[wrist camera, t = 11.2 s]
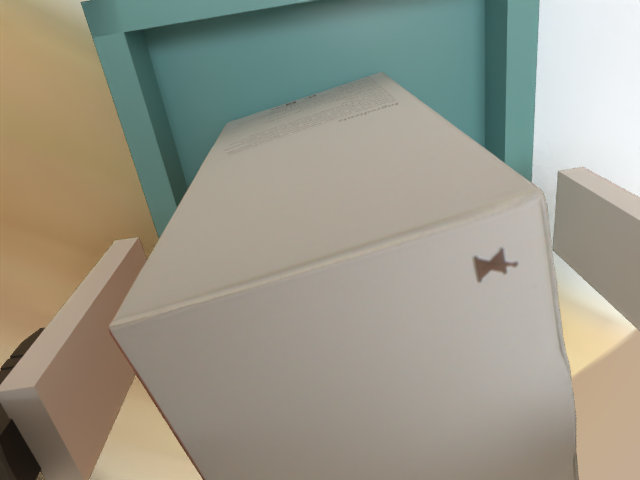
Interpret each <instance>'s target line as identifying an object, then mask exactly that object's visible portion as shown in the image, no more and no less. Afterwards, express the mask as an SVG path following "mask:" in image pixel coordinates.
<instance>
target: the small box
mask: <svg viewBox="0 0 640 480" xmlns="http://www.w3.org/2000/svg"><path fill="white" fill-rule="evenodd" d="M108 330H109V333H110V335H111V336H112V338H113V340H114V341H115V343H116V344H117V346H118V347H119V349H120V350H121V352H122V354H123V355H124V357H125V358H126V360H127V361H128V363H129V364H130V366H131V367H132V369H133V371H134V372H135V374H136V375H137V377H138V378H139V380H140V381H141V383H142V385H143V386H144V388H145V389H146V391H147V393H148V394H149V396H150V397H151V399H152V400H153V402H154V404H155V405H156V407H157V408H158V410H159V411H160V413H161V415H162V416H163V418H164V419H165V421H166V422H167V424H168V425H169V427H170V429H171V430H172V432H173V434H174V435H175V437H176V438H177V440H178V442H179V443H180V445H181V446H182V448H183V449H184V451H185V452H186V454H187V455H188V457H189V459H190V460H191V462H192V463H193V465H194V466H195V468H196V469H197V471H198V472H199V474H200V475H201V477H202V479H203V480H579V477H578V465H577V454H576V411H575V401H574V393H573V388H572V380H571V371H570V365H569V360H568V357H567V354H566V349H565V344H564V339H563V332H562V323H561V315H560V309H559V301H558V291H557V282H556V276H555V270H554V263H553V255H552V245H551V236H550V228H549V220H548V209H547V204H546V200H545V196H544V193H543V192H542V191H541V189H539V188H538V187H537V186H535V185H534V184H532V183H531V182H530V181H528V180H527V179H526V178H524V177H523V176H522V175H520V174H519V173H517V172H516V171H514V170H513V169H512V168H511V167H509V166H508V165H507V164H505V163H504V162H503V161H501V160H500V159H499V158H497V157H496V156H495V155H493V154H492V153H491V152H489V151H488V150H487V149H485V148H484V147H482V146H481V145H480V144H478V143H477V142H476V141H474V140H473V139H472V138H470V137H469V136H468V135H466V134H465V133H464V132H462V131H461V130H459V129H458V128H457V127H455V126H454V125H453V124H451V123H450V122H449V121H447V120H446V119H445V118H443V117H442V116H441V115H439V114H438V113H437V112H435V111H434V110H433V109H431V108H430V107H429V106H427V105H426V104H425V103H423V102H422V101H420V100H419V99H418V98H416V97H415V96H414V95H412V94H411V93H410V92H408V91H407V90H405V89H404V88H403V87H402V86H400V85H399V84H398V83H396V82H395V81H394V80H392V79H391V78H390V77H388V76H387V75H386V74H385V73H384V72H379V73H376V74H373V75H370V76H367V77H364V78H361V79H358V80H355V81H352V82H349V83H346V84H343V85H340V86H337V87H334V88H331V89H328V90H325V91H322V92H319V93H316V94H313V95H310V96H307V97H304V98H301V99H298V100H295V101H292V102H289V103H285V104H282V105H279V106H276V107H273V108H270V109H267V110H264V111H260V112H257V113H255V114H252V115H249V116H246V117H243V118H239V119H236V120H233V121H230V122H228V123H227V124H226V125H225V127H224V128H223V130H222V132H221V133H220V135H219V137H218V139H217V140H216V142H215V144H214V146H213V147H212V148H211V150H210V152H209V153H208V155H207V157H206V158H205V160H204V162H203V164H202V165H201V167H200V169H199V171H198V173H197V174H196V176H195V178H194V180H193V182H192V183H191V185H190V186H189V188H188V190H187V192H186V193H185V195H184V197H183V199H182V200H181V202H180V204H179V206H178V207H177V209H176V211H175V213H174V214H173V216H172V218H171V220H170V221H169V223H168V225H167V226H166V228H165V230H164V231H163V233H162V235H161V236H160V238H159V240H158V242H157V243H156V245H155V247H154V249H153V250H152V252H151V254H150V256H149V258H148V259H147V261H146V263H145V264H144V266H143V268H142V269H141V271H140V273H139V274H138V276H137V278H136V280H135V282H134V283H133V285H132V287H131V289H130V290H129V292H128V294H127V295H126V297H125V299H124V300H123V302H122V304H121V306H120V307H119V309H118V311H117V313H116V314H115V316H114V318H113V319H112V321H111V323H110V324H109V327H108Z"/></svg>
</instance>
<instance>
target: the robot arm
mask: <svg viewBox="0 0 640 480" xmlns="http://www.w3.org/2000/svg"><path fill="white" fill-rule="evenodd" d="M553 251H554V252H555V253H556V254H557V255H558V256H560V257H561V258H562V259H563V260H564V261H565V262H566V263H567V264H568V265H569V266H570V267H571V268H572V269H574V270H575V271H576V272H577V273H578V274H579V275H580V276H581V277H582V278H583V279H584V280H585V281H586V282H588V283H589V284H590V285H591V286H592V287H593V288H594V289H595V290H596V291H597V292H598V293H599V294H600V295H602V296H603V297H604V298H605V299H606V300H607V301H608V302H609V303H610V304H611V305H612V306H613V307H614V308H615V309H617V310H618V311H619V312H620V313H621V314H622V315H623V316H624V317H625V318H626V319H627V320H628V321H629V322H631V323H632V324H633V325H634V326H635V327H636V328H637V329H638V330H639V331H640V197H638V196H636V195H634V194H632V193H631V192H629V191H627V190H625V189H623V188H621V187H620V186H618V185H616V184H614V183H612V182H610V181H608V180H607V179H605V178H603V177H601V176H599V175H597V174H595V173H594V172H592V171H590V170H588V169H586V168H584V167H579V168H573V169H566V170H560V171H558V180H557V194H556V209H555V223H554V238H553ZM146 261H147V259H146V256H145V253H144V250H143V247H142V244H141V241H140V239H139V237H134V238H128V239H121V240H115V241H114V242H113V244H112V245H111V246H110V247H109V249H108V250H107V251H106V252H105V254H104V255H103V256H102V257H101V259H100V260H99V261H98V262H97V264H96V265H95V266H94V268H93V269H92V270H91V271H90V273H89V274H88V275H87V276H86V278H85V279H84V280H83V281H82V283H81V284H80V285H79V286H78V288H77V289H76V290H75V291H74V293H73V294H72V295H71V296H70V298H69V299H68V300H67V301H66V303H65V304H64V305H63V307H62V308H61V309H60V310H59V312H58V313H57V314H56V315H55V317H54V318H53V319H52V320H51V322H50V323H49V324H48V325H47V327H46V328H40V329H39V330H38V331H36V332H35V333H34V334H32V335H31V336H30V337H28V338H27V339H26V340H24V341H23V342H22V343H21V344H20V345H19V346H18V348H17V349H16V350H15V351H14V352H13V354H12V355H11V356H10V359H8V360H7V361H6V362H5V363H4V364H3V366H2V367H1V368H0V369H1V371H0V480H36V478H37V476H38V474H39V472H40V471H41V473H42V474H43V476H44V478H45V479H46V480H89V478H90V476H91V474H92V471H93V469H94V467H95V465H96V462H97V460H98V458H99V456H100V453H101V451H102V449H103V447H104V444H105V442H106V440H107V438H108V435H109V433H110V431H111V429H112V426H113V424H114V422H115V420H116V417H117V415H118V413H119V411H120V408H121V406H122V404H123V402H124V399H125V397H126V395H127V393H128V390H129V388H130V386H131V384H132V381H133V379H134V377H135V375H136V374H135V372H134V371H133V369H132V367H131V366H130V364H129V363H128V361H127V360H126V358H125V357H124V355H123V354H122V352H121V350H120V349H119V347H118V346H117V344H116V343H115V341H114V340H113V338H112V336H111V335H110V333H109V330H108V327H109V324H110V323H111V321H112V319H113V318H114V316H115V314H116V313H117V311H118V309H119V307H120V306H121V304H122V302H123V300H124V299H125V297H126V295H127V294H128V292H129V290H130V289H131V287H132V285H133V283H134V282H135V280H136V278H137V276H138V274H139V273H140V271H141V269H142V268H143V266H144V264H145V263H146Z"/></svg>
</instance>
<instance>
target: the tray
mask: <svg viewBox="0 0 640 480" xmlns="http://www.w3.org/2000/svg"><path fill="white" fill-rule="evenodd" d="M81 5H82V8H83V11H84V14H85V17H86V20H87V23H88V26H89V29H90V32H91V35H92V38H93V41H94V44H95V47H96V50H97V53H98V56H99V59H100V62H101V65H102V68H103V71H104V74H105V77H106V80H107V83H108V86H109V89H110V92H111V95H112V98H113V101H114V104H115V107H116V110H117V113H118V116H119V119H120V122H121V125H122V128H123V132H124V135H125V138H126V141H127V144H128V147H129V150H130V153H131V156H132V159H133V162H134V165H135V168H136V171H137V174H138V177H139V180H140V183H141V186H142V189H143V192H144V195H145V198H146V201H147V204H148V207H149V210H150V213H151V216H152V219H153V222H154V225H155V228H156V231H157V234H158V237H159V238H160V236H161V235H162V233H163V231H164V230H165V228H166V226H167V225H168V223H169V221H170V220H171V218H172V216H173V214H174V213H175V211H176V209H177V207H178V206H179V204H180V202H181V200H182V199H183V197H184V195H185V193H186V192H187V190H188V188H189V186H190V185H191V183H192V182H193V180H194V178H195V176H196V174H197V173H198V171H199V169H200V167H201V165H202V164H203V162H204V160H205V158H206V157H207V155H208V153H209V152H210V150H211V148H212V147H213V146H214V144H215V142H216V140H217V139H218V137H219V135H220V133H221V132H222V130H223V128H224V127H225V125H226V124H227V123H228V122H230V121H233V120H236V119H239V118H243V117H246V116H249V115H252V114H255V113H257V112H260V111H264V110H267V109H270V108H273V107H276V106H279V105H282V104H285V103H289V102H292V101H295V100H298V99H301V98H304V97H307V96H310V95H313V94H316V93H319V92H322V91H325V90H328V89H331V88H334V87H337V86H340V85H343V84H346V83H349V82H352V81H355V80H358V79H361V78H364V77H367V76H370V75H373V74H376V73H379V72H384V73H385V74H386V75H387V76H388V77H390V78H391V79H392V80H394V81H395V82H396V83H398V84H399V85H400V86H402V87H403V88H404V89H405V90H407V91H408V92H410V93H411V94H412V95H414V96H415V97H416V98H418V99H419V100H420V101H422V102H423V103H425V104H426V105H427V106H429V107H430V108H431V109H433V110H434V111H435V112H437V113H438V114H439V115H441V116H442V117H443V118H445V119H446V120H447V121H449V122H450V123H451V124H453V125H454V126H455V127H457V128H458V129H459V130H461V131H462V132H464V133H465V134H466V135H468V136H469V137H470V138H472V139H473V140H474V141H476V142H477V143H478V144H480V145H481V146H482V147H484V148H485V149H487V150H488V151H489V152H491V153H492V154H493V155H495V156H496V157H497V158H499V159H500V160H501V161H503V162H504V163H505V164H507V165H508V166H509V167H511V168H512V169H513V170H514V171H516V172H517V173H519V174H520V175H522V176H523V177H524V178H526V179H527V180H528V181H530V182H531V180H532V158H533V135H534V112H535V90H536V67H537V44H538V22H539V0H90V1H84V2H81Z"/></svg>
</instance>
